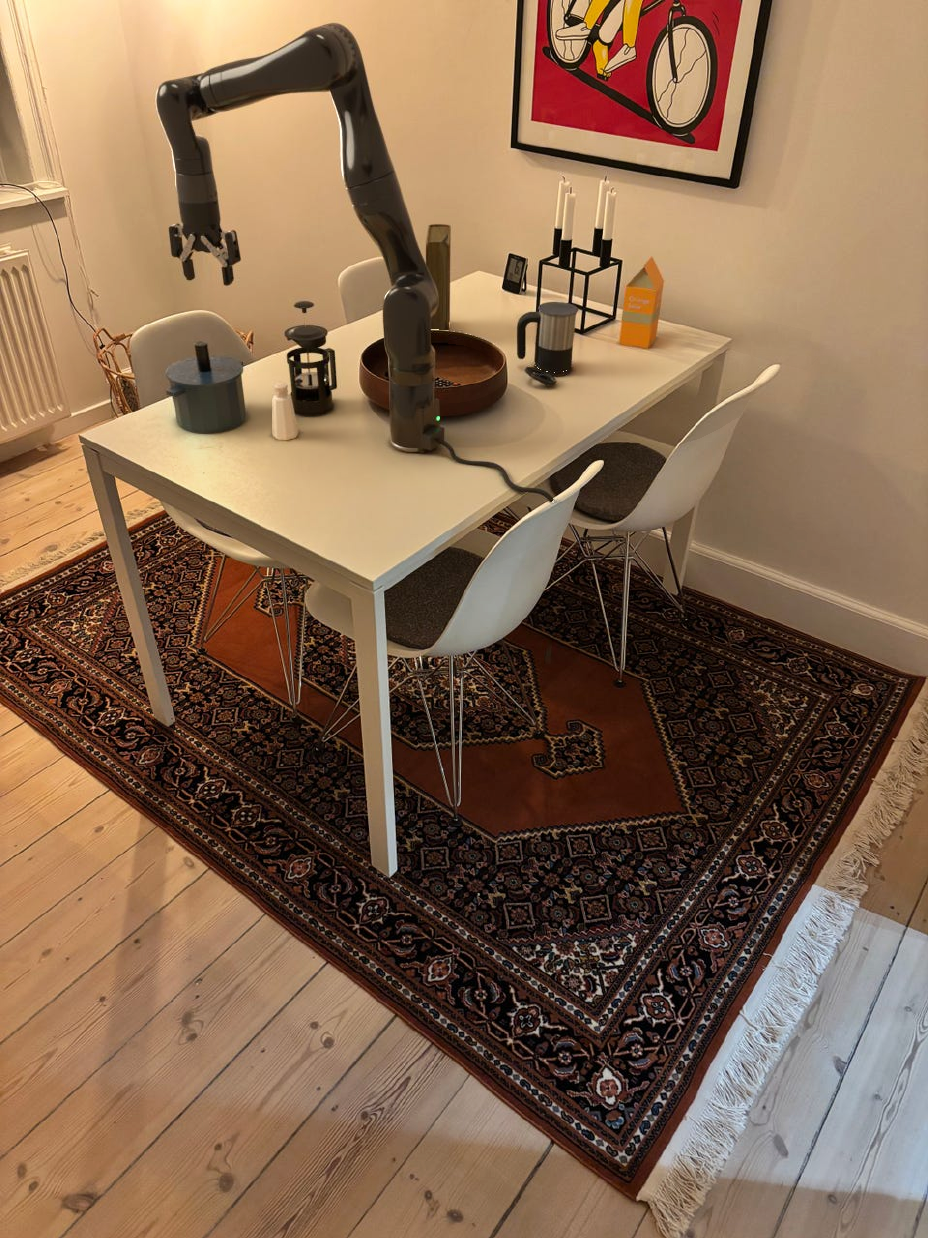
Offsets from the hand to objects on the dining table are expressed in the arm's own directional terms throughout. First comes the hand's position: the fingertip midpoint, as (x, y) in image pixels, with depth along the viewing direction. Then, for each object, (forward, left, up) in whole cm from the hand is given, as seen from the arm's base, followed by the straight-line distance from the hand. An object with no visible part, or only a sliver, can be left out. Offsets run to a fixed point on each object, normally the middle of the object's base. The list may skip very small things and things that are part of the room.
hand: (209, 281), depth 195 cm
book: (-13, -64, -27) cm, 70 cm away
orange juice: (-57, -89, -27) cm, 109 cm away
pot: (-1, +6, -27) cm, 28 cm away
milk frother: (-49, -56, -27) cm, 80 cm away
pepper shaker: (-19, +3, -27) cm, 34 cm away
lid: (-1, +6, -17) cm, 18 cm away
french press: (-15, -11, -27) cm, 33 cm away
